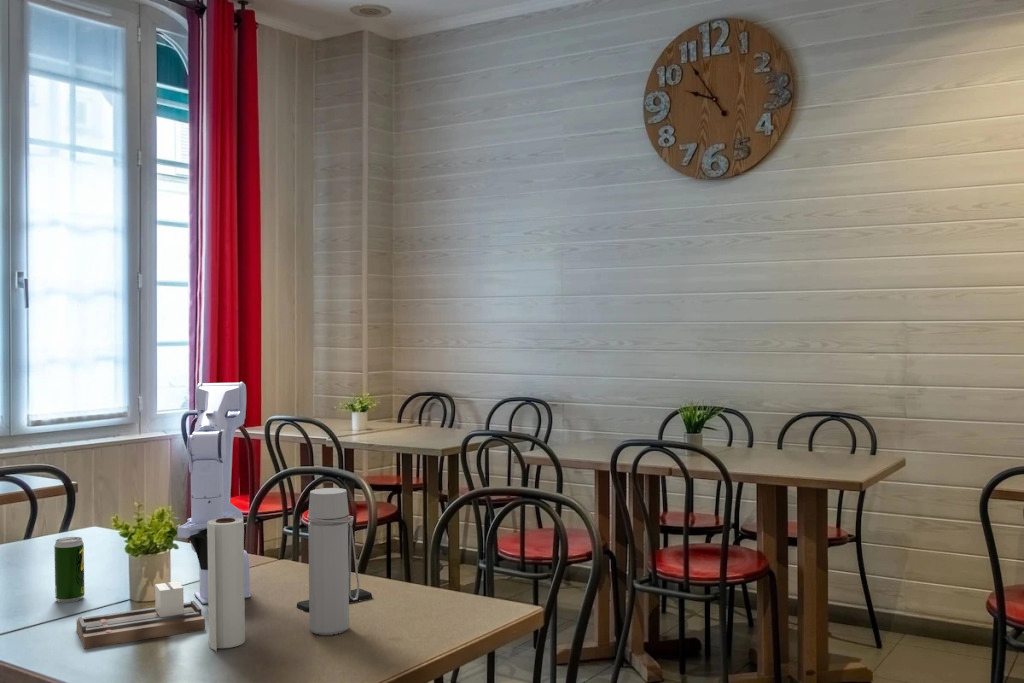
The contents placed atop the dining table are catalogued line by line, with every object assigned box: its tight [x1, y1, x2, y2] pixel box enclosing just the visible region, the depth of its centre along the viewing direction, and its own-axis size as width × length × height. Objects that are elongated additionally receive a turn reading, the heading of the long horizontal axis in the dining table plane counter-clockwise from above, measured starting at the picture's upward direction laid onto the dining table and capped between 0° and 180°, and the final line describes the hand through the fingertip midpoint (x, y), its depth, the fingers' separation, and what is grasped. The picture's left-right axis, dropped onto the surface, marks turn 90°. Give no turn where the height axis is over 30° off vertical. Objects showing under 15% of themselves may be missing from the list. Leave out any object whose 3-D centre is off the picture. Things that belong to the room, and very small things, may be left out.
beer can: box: [53, 536, 85, 604], centre depth 196 cm, size 5×5×12 cm
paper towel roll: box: [207, 518, 246, 653], centre depth 168 cm, size 7×6×21 cm
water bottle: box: [306, 487, 360, 636], centre depth 175 cm, size 9×8×25 cm
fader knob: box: [154, 581, 185, 617], centre depth 179 cm, size 4×5×5 cm
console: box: [75, 600, 206, 650], centre depth 176 cm, size 20×12×3 cm, turn 120°
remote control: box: [296, 588, 373, 613], centre depth 193 cm, size 5×2×15 cm
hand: (208, 568), depth 182 cm, fingers closed
